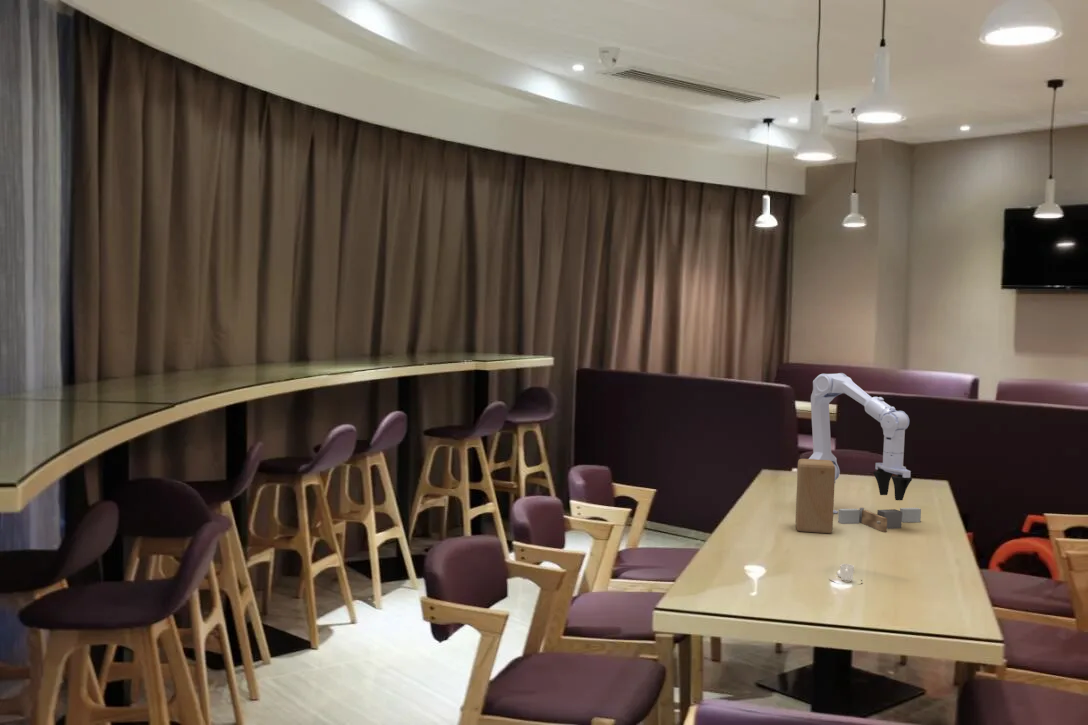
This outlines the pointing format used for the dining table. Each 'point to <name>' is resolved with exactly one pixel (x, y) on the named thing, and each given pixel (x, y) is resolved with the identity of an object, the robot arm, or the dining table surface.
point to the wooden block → (815, 495)
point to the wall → (856, 515)
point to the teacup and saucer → (846, 572)
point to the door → (874, 520)
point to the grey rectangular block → (892, 518)
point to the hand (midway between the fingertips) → (891, 497)
